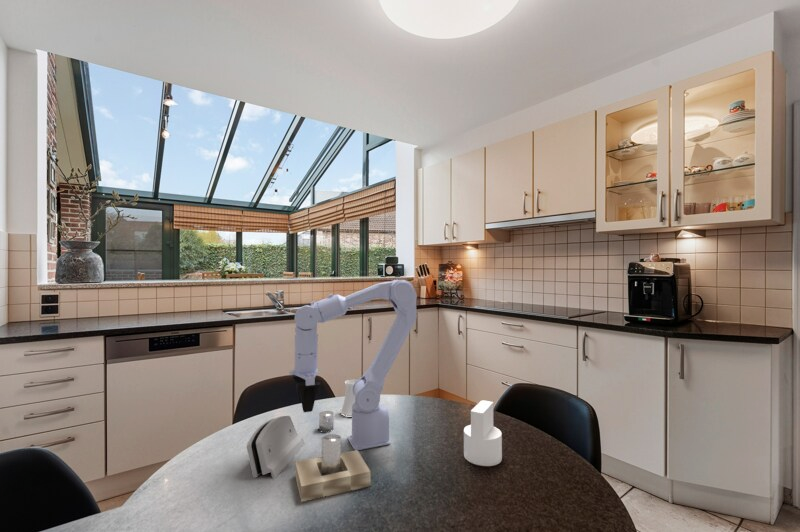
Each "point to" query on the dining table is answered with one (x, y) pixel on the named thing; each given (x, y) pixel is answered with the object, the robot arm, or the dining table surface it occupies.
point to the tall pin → (331, 454)
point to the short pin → (326, 421)
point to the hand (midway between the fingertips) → (305, 406)
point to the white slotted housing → (273, 446)
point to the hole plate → (331, 476)
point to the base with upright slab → (482, 437)
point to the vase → (348, 398)
